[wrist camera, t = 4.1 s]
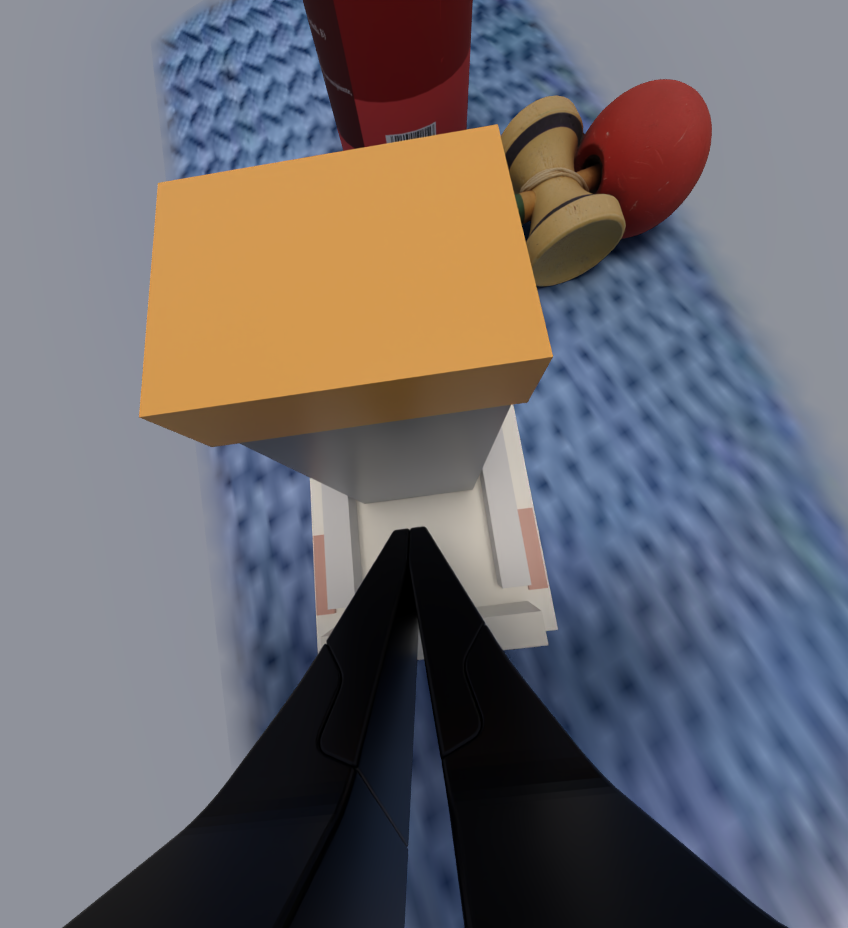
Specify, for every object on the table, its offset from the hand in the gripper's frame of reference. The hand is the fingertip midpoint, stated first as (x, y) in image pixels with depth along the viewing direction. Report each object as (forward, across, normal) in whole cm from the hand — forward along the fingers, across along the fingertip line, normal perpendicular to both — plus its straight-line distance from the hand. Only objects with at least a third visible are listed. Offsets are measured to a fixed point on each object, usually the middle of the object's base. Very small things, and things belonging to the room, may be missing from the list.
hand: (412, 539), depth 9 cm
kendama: (+17, -7, -5) cm, 19 cm away
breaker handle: (+5, 0, +1) cm, 5 cm away
